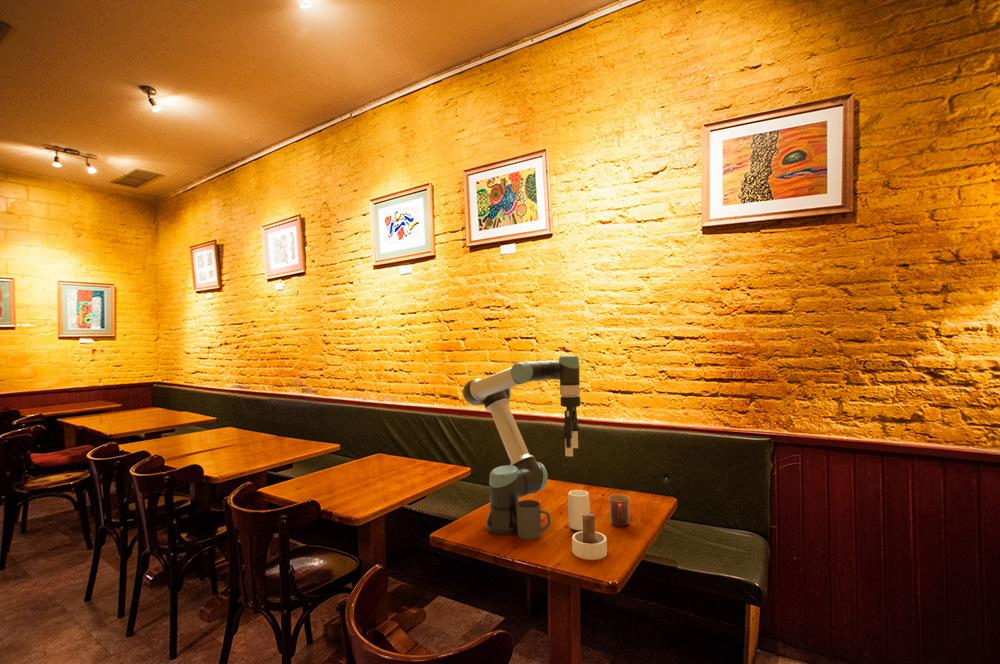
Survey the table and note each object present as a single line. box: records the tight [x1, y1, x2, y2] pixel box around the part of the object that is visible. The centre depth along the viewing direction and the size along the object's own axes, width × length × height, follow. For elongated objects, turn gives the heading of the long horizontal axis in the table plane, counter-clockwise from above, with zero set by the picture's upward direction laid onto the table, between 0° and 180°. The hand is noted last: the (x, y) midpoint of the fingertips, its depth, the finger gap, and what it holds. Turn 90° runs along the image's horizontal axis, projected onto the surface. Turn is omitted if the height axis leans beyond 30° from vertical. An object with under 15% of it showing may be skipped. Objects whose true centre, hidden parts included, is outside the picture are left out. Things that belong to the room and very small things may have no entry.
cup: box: [567, 489, 591, 531], centre depth 183 cm, size 8×8×14 cm
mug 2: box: [607, 493, 631, 527], centre depth 186 cm, size 12×9×10 cm
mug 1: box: [517, 499, 552, 541], centre depth 177 cm, size 14×9×12 cm
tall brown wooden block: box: [582, 512, 596, 543], centre depth 163 cm, size 4×2×12 cm, turn 73°
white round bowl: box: [571, 530, 608, 561], centre depth 162 cm, size 12×12×5 cm
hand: (571, 452), depth 177 cm, fingers open, 13 cm apart
